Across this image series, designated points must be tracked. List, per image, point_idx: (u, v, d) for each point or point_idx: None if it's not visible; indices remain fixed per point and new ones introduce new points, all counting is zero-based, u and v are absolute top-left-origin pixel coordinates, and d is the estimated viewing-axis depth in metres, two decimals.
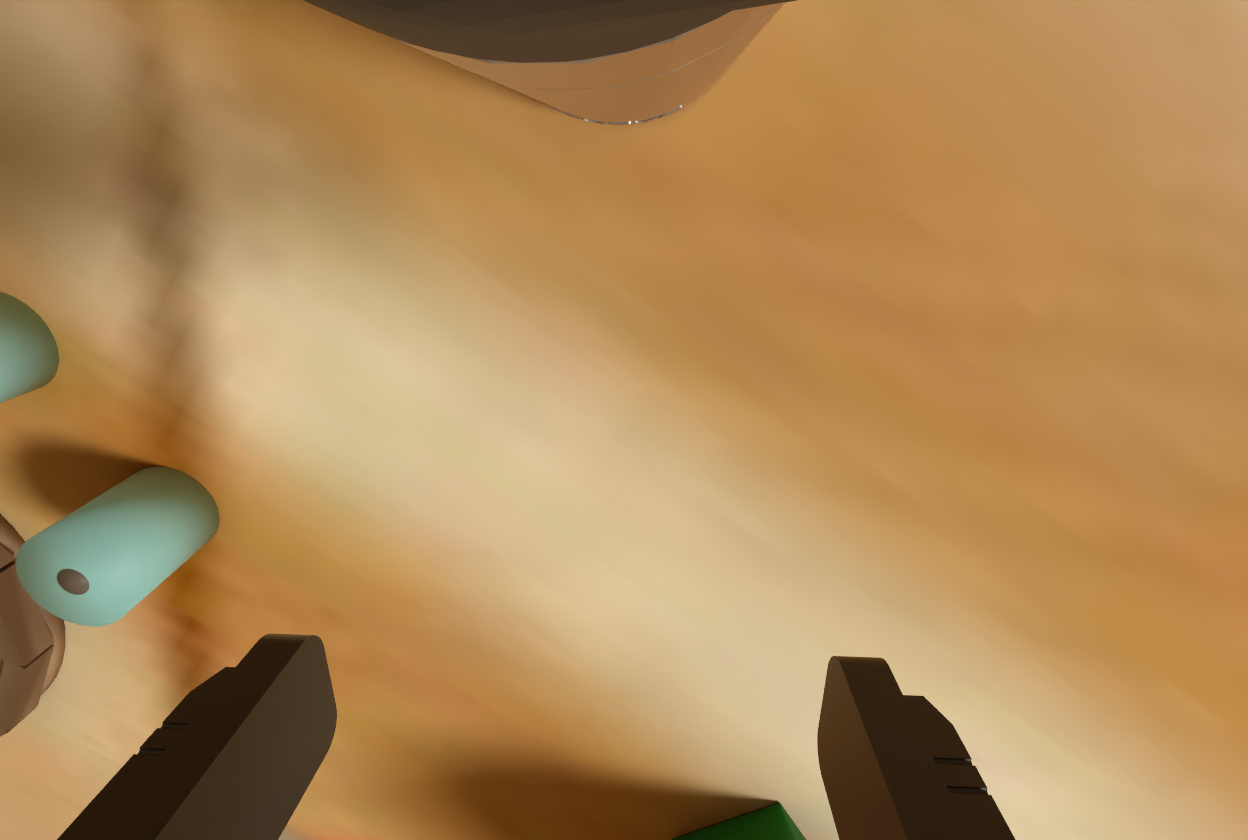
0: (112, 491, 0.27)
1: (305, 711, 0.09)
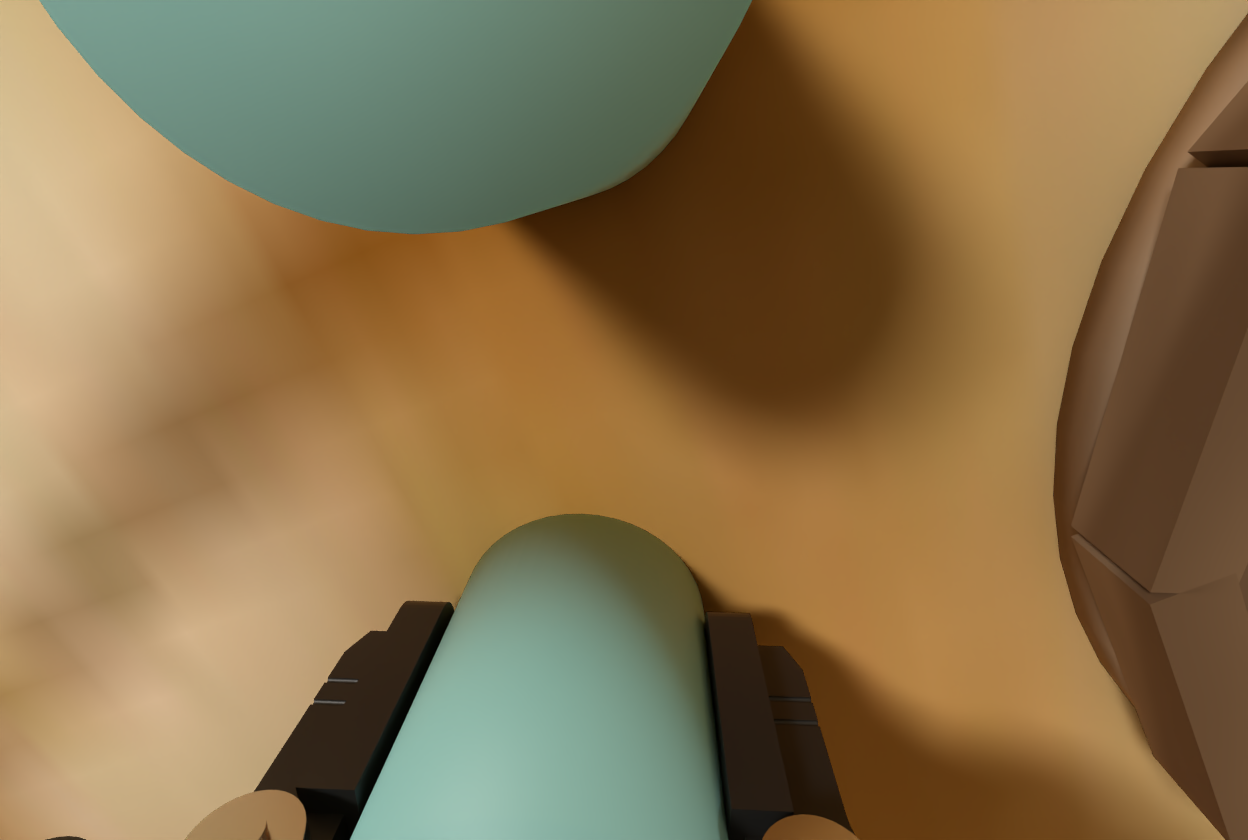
0: None
1: None
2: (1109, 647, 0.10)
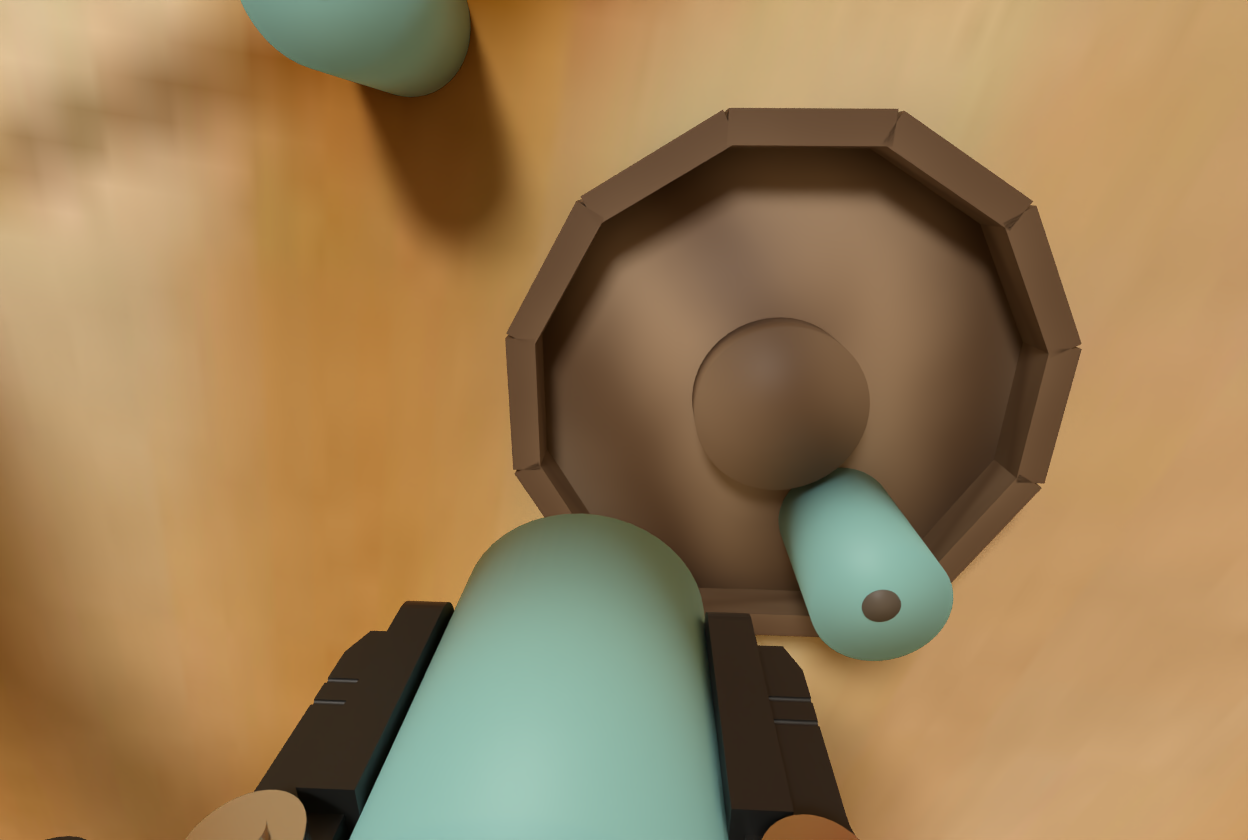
0: None
1: None
2: None
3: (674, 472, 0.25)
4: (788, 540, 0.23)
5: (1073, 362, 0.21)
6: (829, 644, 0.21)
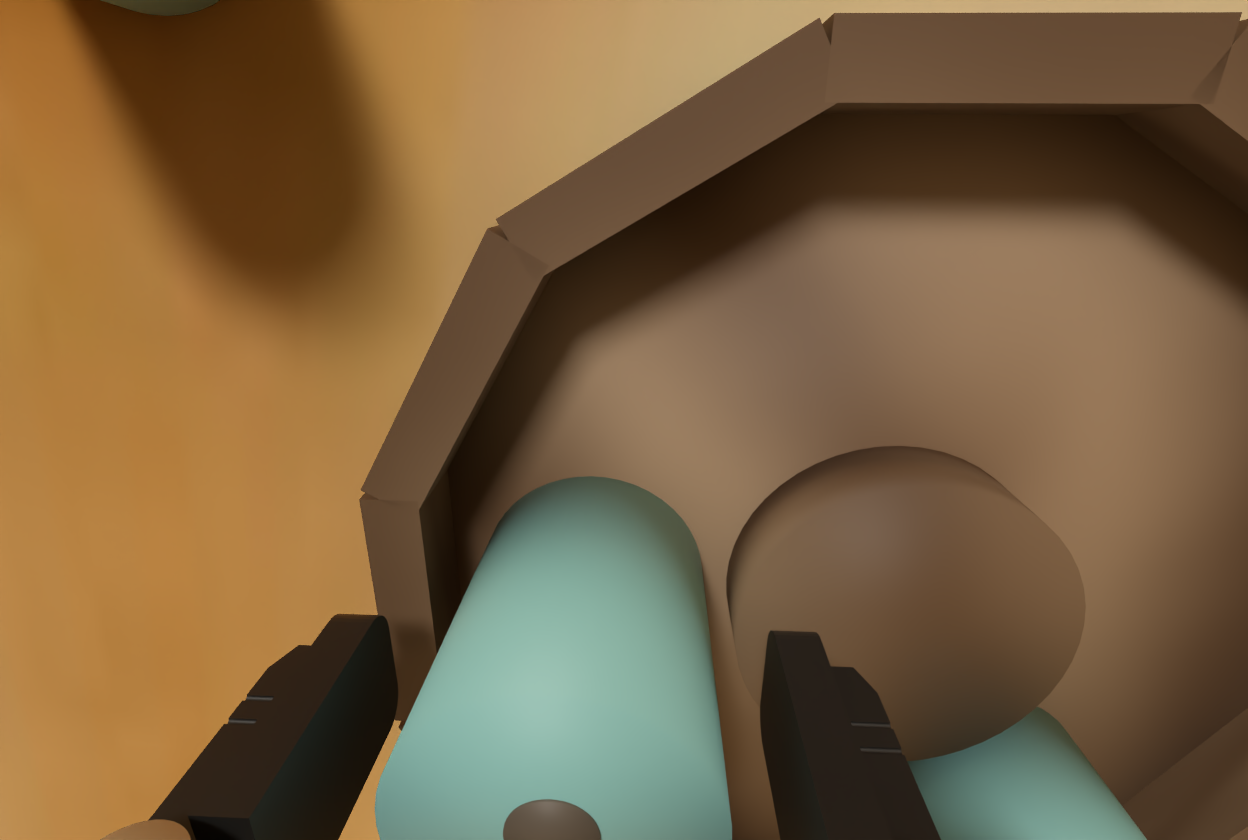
0: None
1: (374, 687, 0.10)
2: None
3: None
4: None
5: None
6: None
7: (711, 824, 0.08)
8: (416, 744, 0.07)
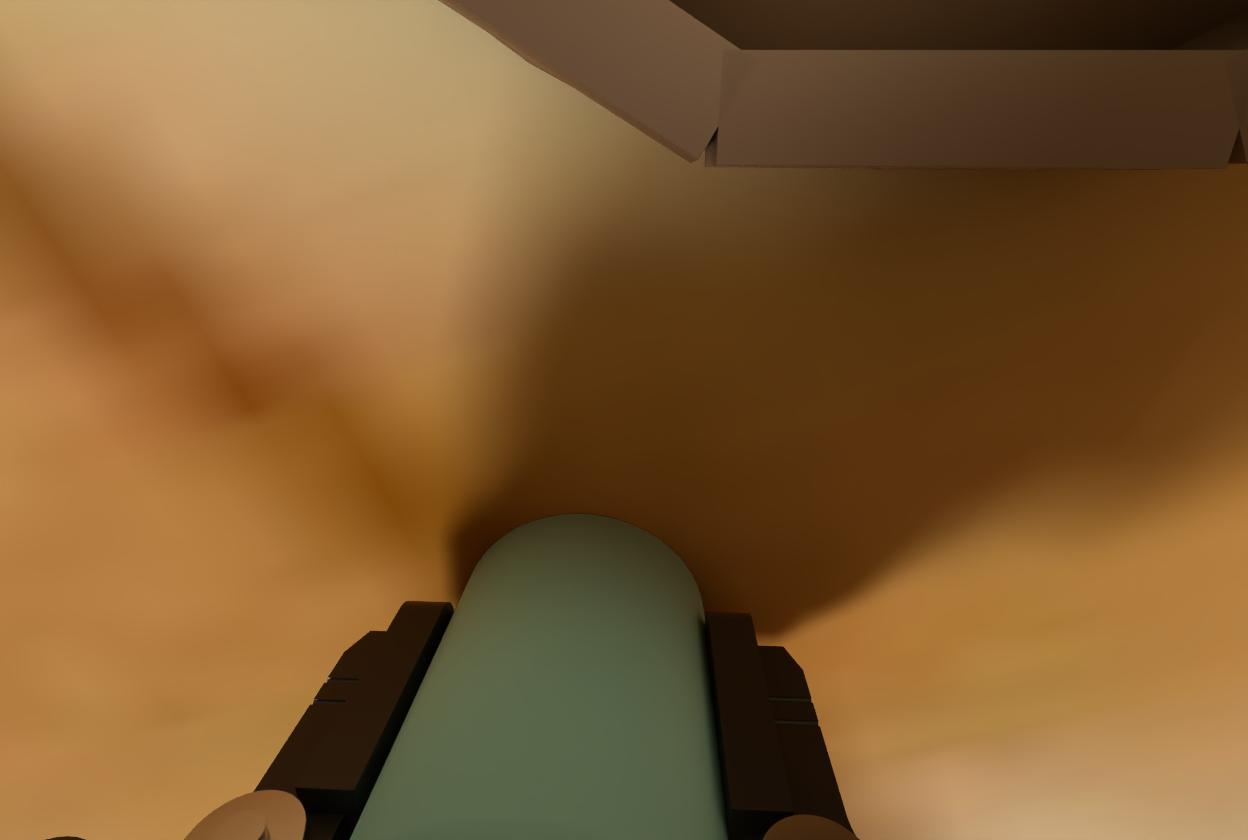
0: None
1: None
2: None
3: None
4: None
5: None
6: None
7: None
8: None
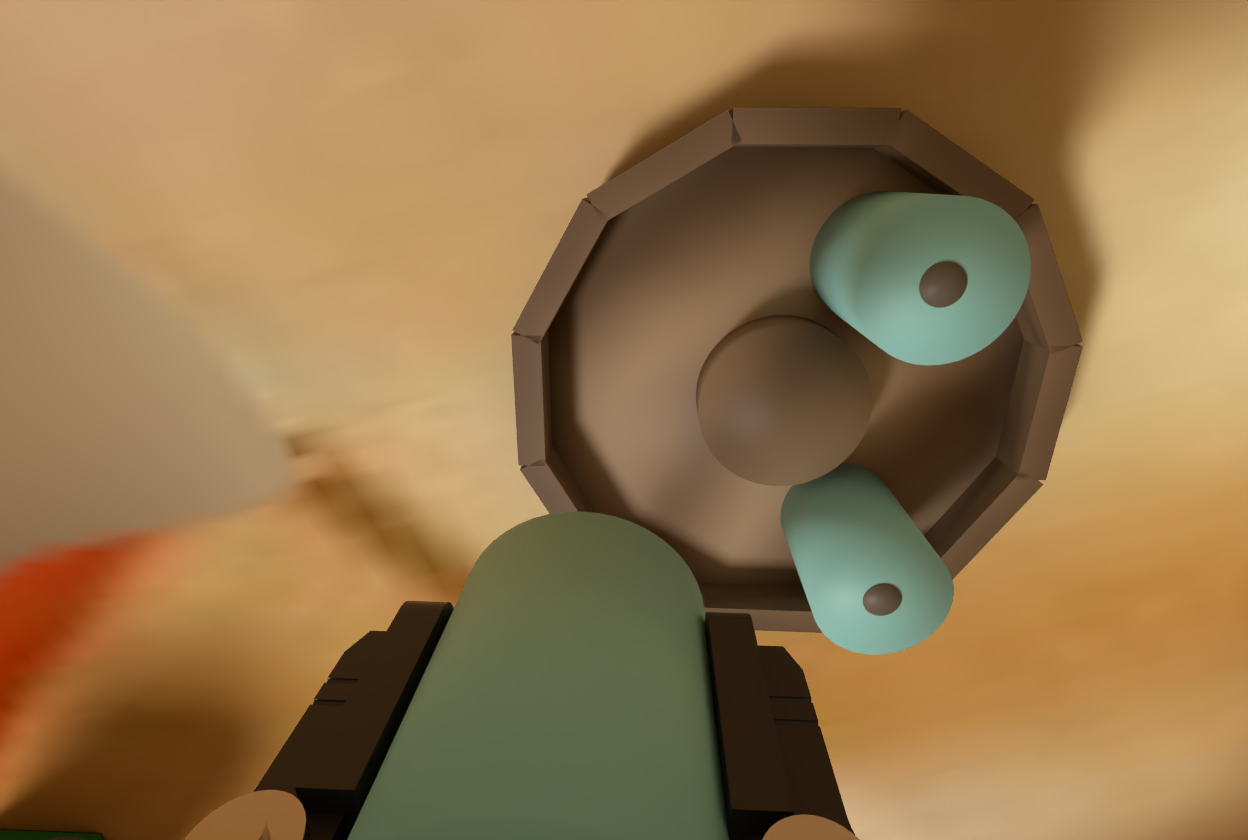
0: None
1: None
2: None
3: (892, 434, 0.24)
4: None
5: (601, 190, 0.20)
6: (1020, 302, 0.17)
7: (848, 558, 0.20)
8: (859, 649, 0.21)
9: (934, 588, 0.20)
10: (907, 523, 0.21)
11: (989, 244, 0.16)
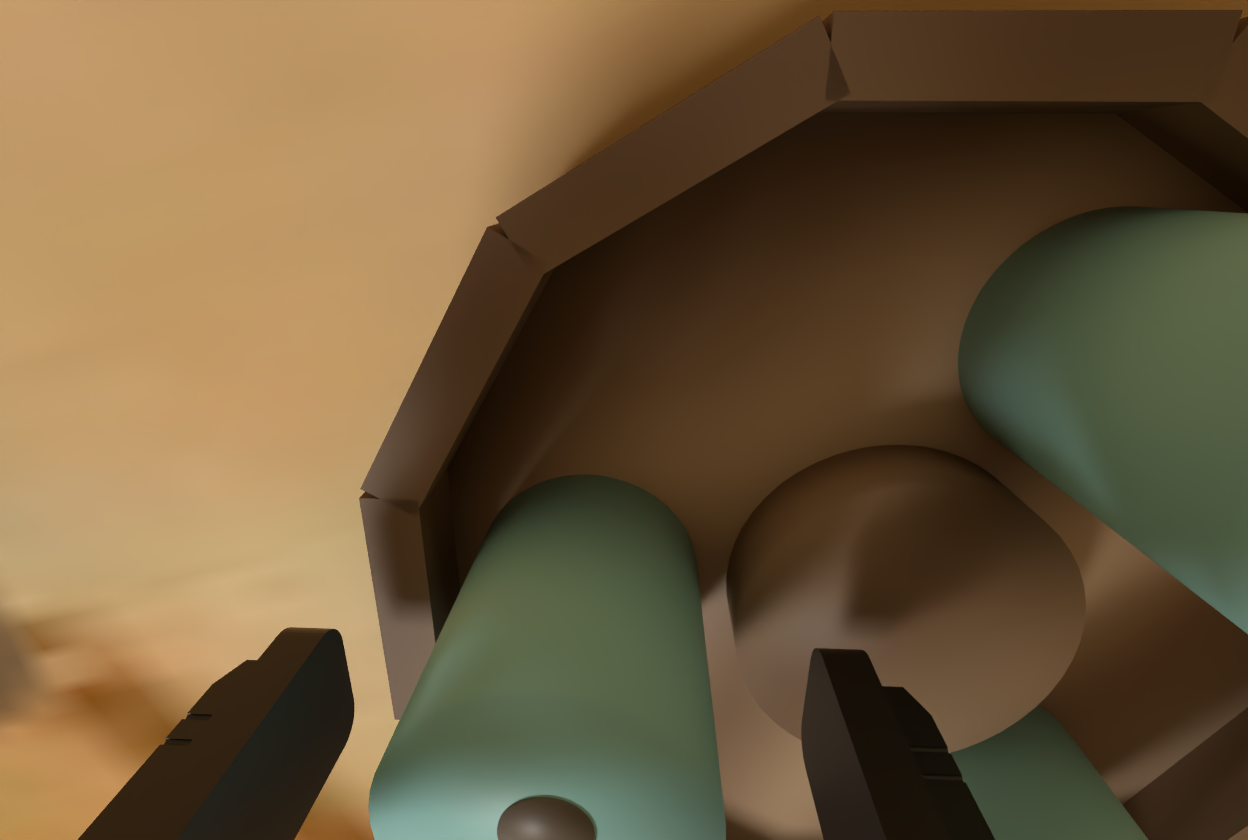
0: None
1: (325, 703, 0.10)
2: None
3: (1087, 649, 0.13)
4: None
5: (528, 208, 0.09)
6: None
7: None
8: None
9: None
10: None
11: None
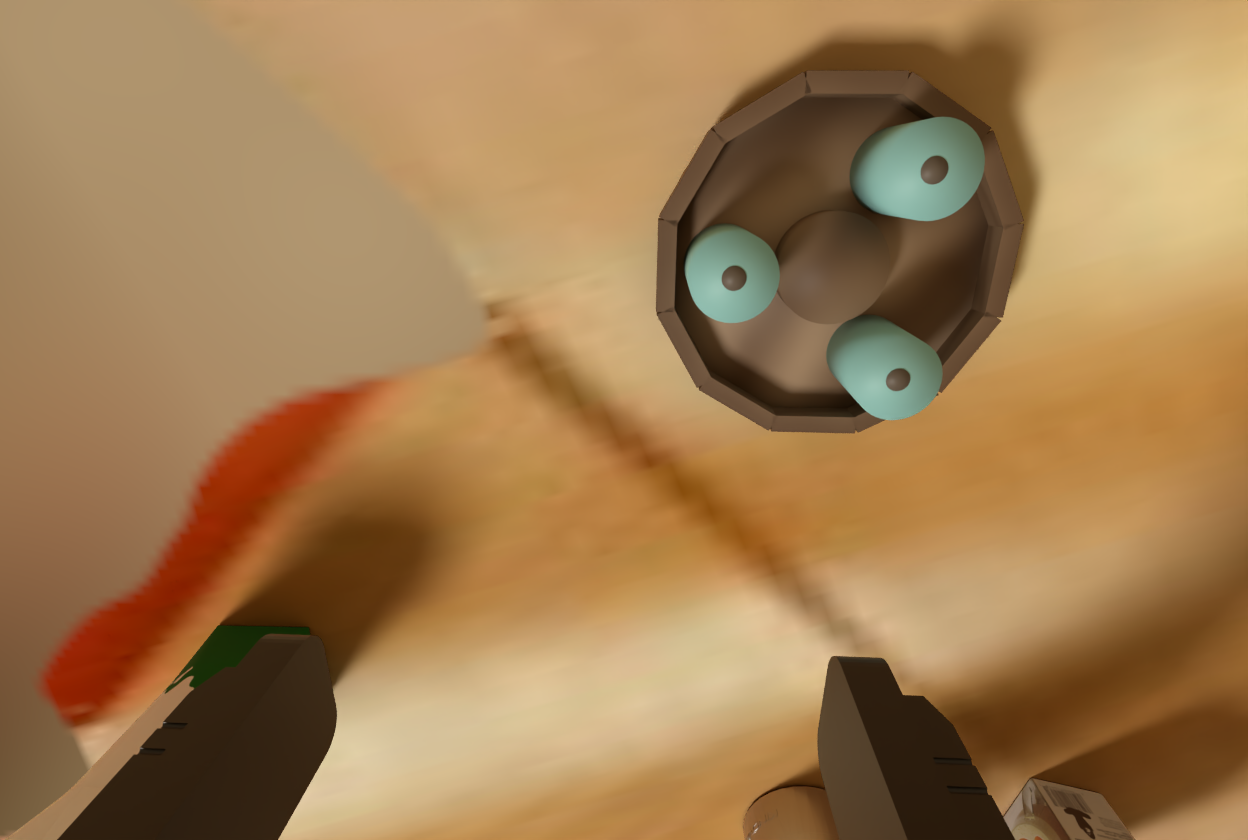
0: None
1: (305, 711, 0.09)
2: None
3: (902, 293, 0.36)
4: None
5: (722, 123, 0.32)
6: (979, 181, 0.29)
7: (877, 351, 0.32)
8: (883, 416, 0.33)
9: (930, 371, 0.32)
10: None
11: (960, 145, 0.28)
